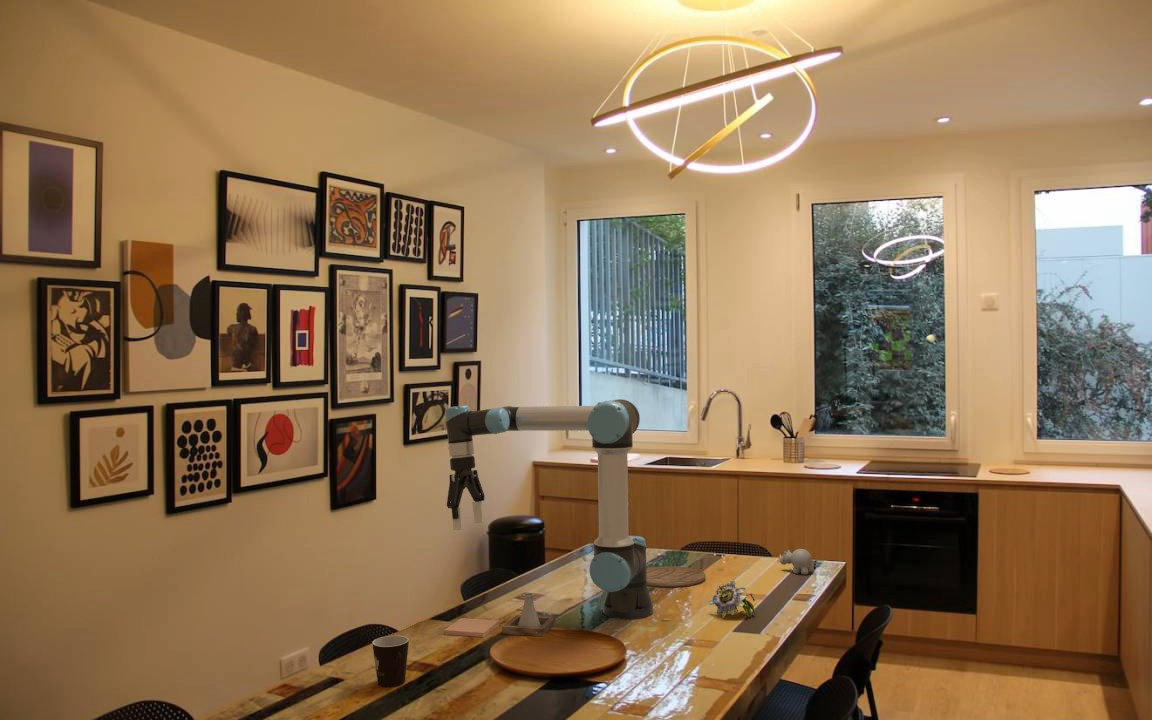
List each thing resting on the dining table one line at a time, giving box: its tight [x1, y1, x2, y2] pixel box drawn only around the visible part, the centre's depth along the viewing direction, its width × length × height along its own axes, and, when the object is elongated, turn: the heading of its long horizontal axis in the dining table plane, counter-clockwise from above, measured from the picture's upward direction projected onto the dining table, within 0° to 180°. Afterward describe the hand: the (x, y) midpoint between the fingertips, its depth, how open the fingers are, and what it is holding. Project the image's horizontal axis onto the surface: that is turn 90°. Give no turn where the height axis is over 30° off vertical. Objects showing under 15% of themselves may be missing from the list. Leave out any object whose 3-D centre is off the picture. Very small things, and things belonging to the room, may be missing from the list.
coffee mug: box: [372, 635, 410, 689], centre depth 210 cm, size 12×9×10 cm
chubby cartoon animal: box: [779, 548, 814, 576], centre depth 312 cm, size 7×12×8 cm, turn 48°
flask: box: [517, 592, 541, 627], centre depth 252 cm, size 7×7×10 cm
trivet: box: [646, 565, 706, 589], centre depth 307 cm, size 25×25×2 cm
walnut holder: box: [501, 614, 557, 637], centre depth 252 cm, size 12×12×2 cm
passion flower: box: [707, 579, 756, 619], centre depth 262 cm, size 11×11×12 cm
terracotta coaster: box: [443, 617, 500, 638], centre depth 253 cm, size 12×12×1 cm
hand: (468, 526), depth 268 cm, fingers open, 13 cm apart
